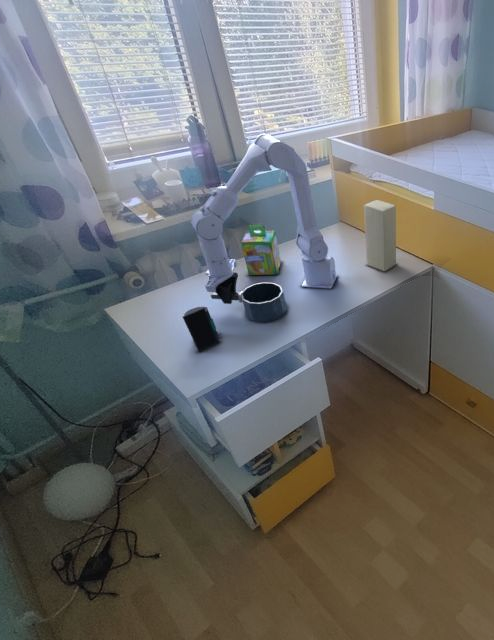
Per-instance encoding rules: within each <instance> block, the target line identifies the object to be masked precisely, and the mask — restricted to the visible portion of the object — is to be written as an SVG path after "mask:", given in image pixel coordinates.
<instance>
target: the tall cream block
mask: <svg viewBox="0 0 494 640" xmlns="http://www.w3.org/2000/svg"><path fill="white" fill-rule="evenodd" d="M363 212H364V214H363V215H364V231H365V252H366V265H367V266H369V267H371V268H374V269H377V270H379V271H382V272H387V271H388V270H389V269H391V268H393V267H394V266H396V265H397V206H396V204H392V203H389V202H386V201H382V200H379V199H375V200H371V201H370V202H367V203H366V204H364V205H363Z"/></svg>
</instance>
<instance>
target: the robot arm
mask: <svg viewBox="0 0 494 640" xmlns="http://www.w3.org/2000/svg"><path fill="white" fill-rule="evenodd" d="M271 166H272V167H273V168H275V169H279V170H283V171H284V172H286V174H287V179H288V184H289V189H290V194H291V199H292V203H293V208H294V210H295V217H296V221H297V228H296V237H295V245H296V246H297V248H298V249H299V250H300V252H301V255H300V256H301V257H300V258H301V262H302V263H301V264H302V268H303V272H304V273H303V274H304V280H303V282H302V283H301V287H303V288H316V289H332V288H333V286H334V284H335V281H336V280H337V278H338V275H337V270H336V262H335V258H334V256H330V255H328V254H329V247H328V245H327V243H326V241H325V240H324V236H323V234H322V232H321V230H320V229H319V227H318V224H317V219H316V212H315V206H314V202H313V197H312V196H313V195H312V191H311V190H312V189H311V185H310V179H309V175H308V173H309V172H308V169H307V165H306V162H305V161H304V160H303V159H302V158H301V156H300V155H299V154H298V153H297V152H296V150H295V148H294V147H293V146H290V145H289V144H287V143H285V142H284V141H281V140H280V139H278V138H276V137H274V136H273V135H271V134H268V133H261V134H259V135H257V137H256V138H255V140H254V142H252V143H251V144H250V145H249V146H248V149H247V151H246V154H245V155H244V157H243V158H242V160H241V162H240V163H239V164H238V166H237V168H236V169H235V171H234V172H233V173H232V175H231V177H230V178H229V180H228V181H227V182H226V184H225V185H224V186H223V185H222V186H217V187H216V189H215V190H214V189H211V190H210V191H209V194H210V196H209V198H208V199H207V200H206V202H204V204H203V205H202V206H200V207H199V208H198V211H195V212H194V213H193V214H192V215H191V217H190V222H189V224H190V226H191V228H192V229H193V230H194V231H195V232H196V235H197V239H198V243H199V246H200V249H201V252H202V255H203V258H204V262H205V264H206V267H207V270H206V271H205V276H206V275H207V276H208V277H207V281H206V283H205V285H204V287H205V289H206V292H207V293H212V292H216V293H217V294H218V296H219V297H220V298H221V299H220V301H222V303H223V304H226V305H231V304H233V300H232V298H231V292H237V283H238V282H237V281H238V277H239V274H238V272H235V268H237V267H238V264H237V260H236V259H233V258H232V259H231V258H230V257H229V255H228V252H227V248H226V244H225V241H224V239H223V236H222V234H223V231H224V227H223V225H224V223H226V220H227V219H228V218H229V217H230V215H231V214H232V213H233V211H234V210H235V208H237V206H238V205H239V195H240V194H241V192H242V191H243V190H244V189H245V188H246V187H247V186H248V185H249V183H250V182H251V181H252V180H253V179H254V177H256V175H257V174H258V173H262V172H269V171H270V172H271V171H272V167H271Z"/></svg>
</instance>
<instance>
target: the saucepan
mask: <svg viewBox="0 0 494 640" xmlns="http://www.w3.org/2000/svg"><path fill="white" fill-rule="evenodd" d="M210 298H211V299H212V300H221V298H220V297H219V296H218V294H217V293H216V292H211V293H210ZM231 298H232V301H239V302H238V303H242V304H243V307H244V311H245V314H246V318H247V319H249V320H250V321H253V322H255V323H268V322H269V323H270V322H273V321H275V320H278V319H280V318H282V317H283V316H284V315H285V314H286V312H287V302H286V297H285V294H284V290H283V287H282V286H281V285H280V284H277V283H275V282H267V281H266V282H265V281H264V282H258V283H253V284H251V285H249V286H247V287H245V288H243V290H241V291H240V292H239V291H236V292H231Z"/></svg>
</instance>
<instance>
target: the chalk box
mask: <svg viewBox="0 0 494 640" xmlns="http://www.w3.org/2000/svg"><path fill="white" fill-rule="evenodd" d="M248 229H249V230H246V232H245V233H244V236H243V238H242V240H241V243H240V245H241V248H242V252H243V256H244V261H245V265H246V269H247V273H248V275H249V276H259V275H260V276H262V275H263V276H265V275H268V276H269V275H273V276H274V275H275V276H276V275H278V274H279V271H280V270H279V269H280V266H281V262H282V259H281V254H280V250H279V249H280V248H279V244H278V243H279V242H278V238H277V232H276V231H275V230H268V229H267V230H266V227H265V225H264V224H249V225H248ZM256 229H258V230H256Z"/></svg>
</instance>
